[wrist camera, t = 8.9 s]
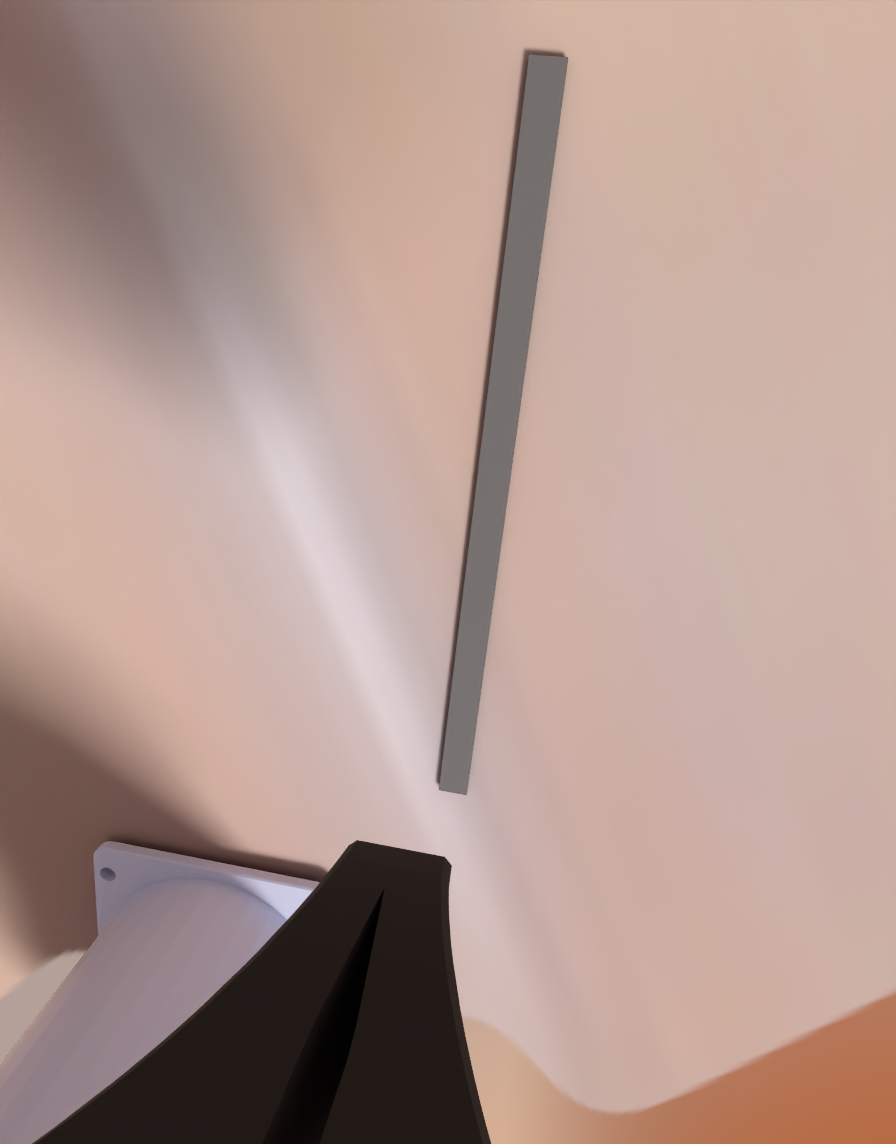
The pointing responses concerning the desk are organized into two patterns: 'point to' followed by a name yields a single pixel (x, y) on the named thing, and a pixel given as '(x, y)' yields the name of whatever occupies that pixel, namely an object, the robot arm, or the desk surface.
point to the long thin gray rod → (503, 404)
